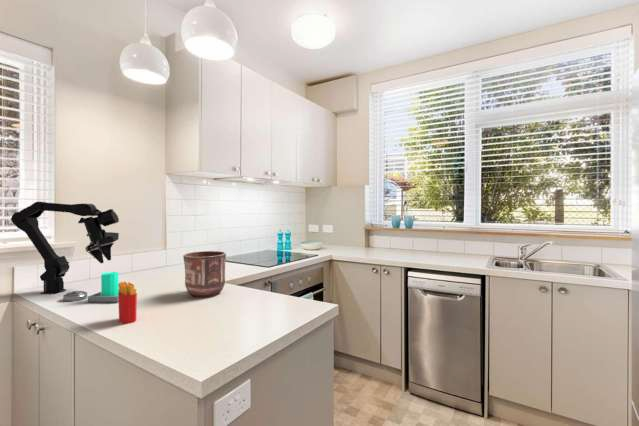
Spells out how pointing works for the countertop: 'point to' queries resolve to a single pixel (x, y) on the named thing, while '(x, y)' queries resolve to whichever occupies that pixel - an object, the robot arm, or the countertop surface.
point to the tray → (102, 298)
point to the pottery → (204, 273)
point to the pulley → (75, 296)
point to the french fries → (127, 302)
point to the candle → (109, 284)
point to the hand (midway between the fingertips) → (105, 261)
